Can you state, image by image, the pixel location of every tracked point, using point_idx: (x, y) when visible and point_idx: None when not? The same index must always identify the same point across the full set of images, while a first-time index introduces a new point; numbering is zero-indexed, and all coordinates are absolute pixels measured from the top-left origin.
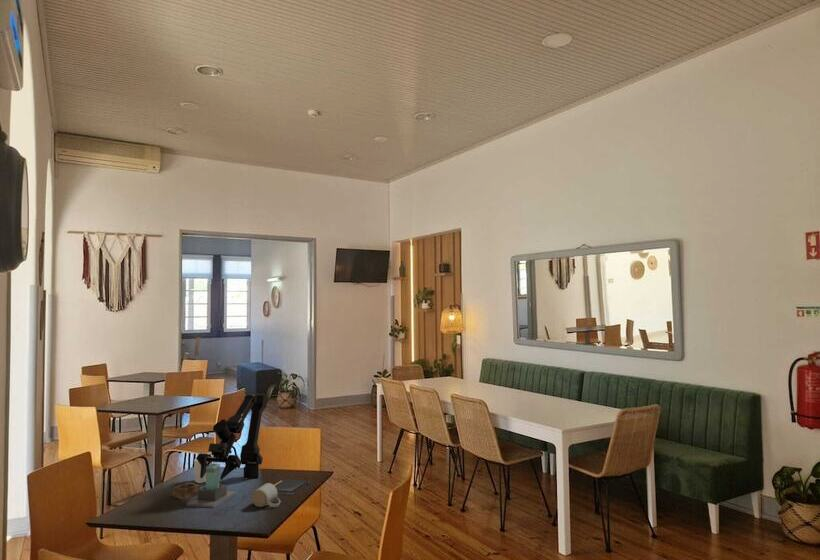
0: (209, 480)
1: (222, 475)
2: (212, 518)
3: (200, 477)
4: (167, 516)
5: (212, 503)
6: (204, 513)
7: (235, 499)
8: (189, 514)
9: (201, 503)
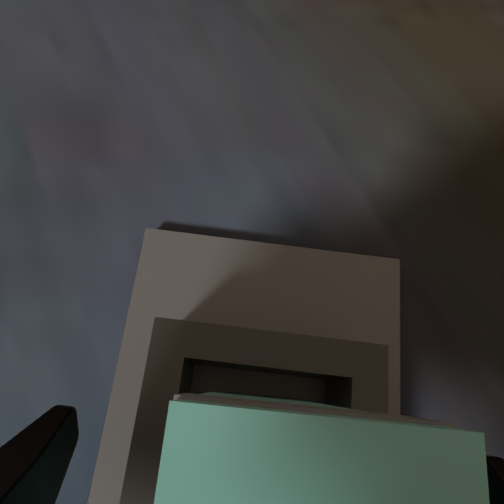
0: (281, 401)
1: (11, 442)
2: (79, 49)
3: (490, 457)
4: (392, 69)
5: (172, 270)
6: (171, 125)
7: None
8: (268, 105)
9: (270, 263)
